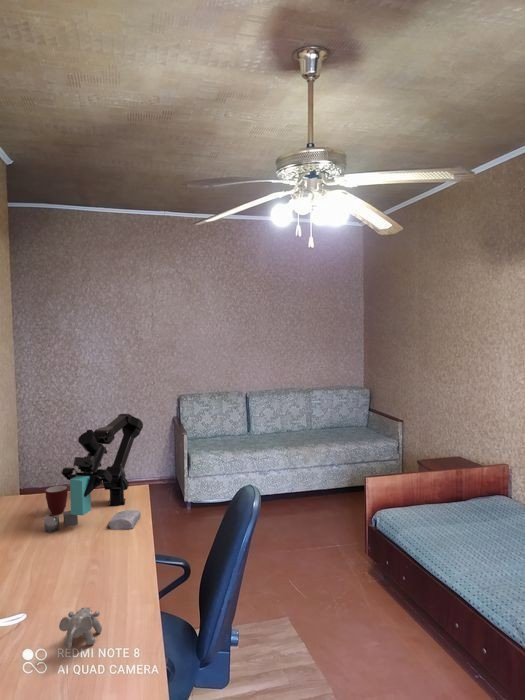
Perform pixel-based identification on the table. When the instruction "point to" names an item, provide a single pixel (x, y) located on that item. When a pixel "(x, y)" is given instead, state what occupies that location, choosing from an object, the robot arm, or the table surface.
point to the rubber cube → (70, 519)
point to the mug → (56, 499)
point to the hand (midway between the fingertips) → (78, 495)
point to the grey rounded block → (51, 523)
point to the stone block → (125, 520)
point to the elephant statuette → (80, 626)
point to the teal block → (79, 495)
